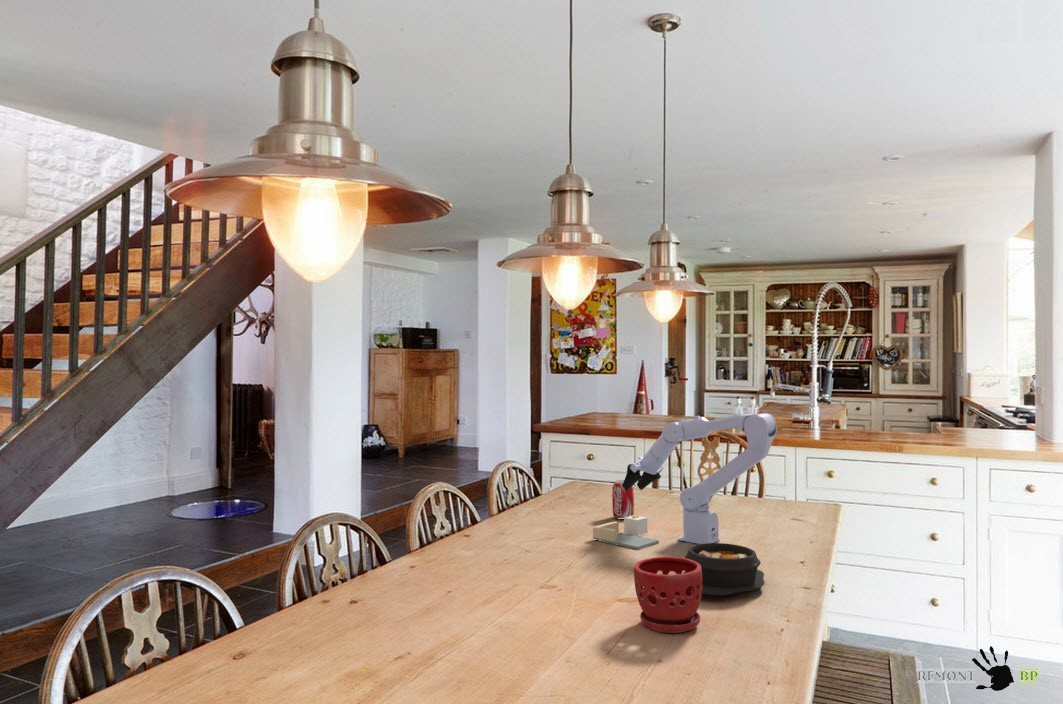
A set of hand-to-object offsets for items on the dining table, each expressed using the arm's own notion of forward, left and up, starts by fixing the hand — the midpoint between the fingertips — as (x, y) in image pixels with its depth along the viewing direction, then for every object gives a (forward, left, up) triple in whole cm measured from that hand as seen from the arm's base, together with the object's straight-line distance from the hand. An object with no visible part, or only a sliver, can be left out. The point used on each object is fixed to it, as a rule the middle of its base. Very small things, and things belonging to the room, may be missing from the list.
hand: (631, 487), depth 224 cm
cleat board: (-6, +11, -13) cm, 19 cm away
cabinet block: (-3, +2, -13) cm, 14 cm away
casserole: (-48, +30, -14) cm, 58 cm away
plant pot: (-53, +59, -14) cm, 81 cm away
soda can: (+14, -14, -14) cm, 24 cm away
